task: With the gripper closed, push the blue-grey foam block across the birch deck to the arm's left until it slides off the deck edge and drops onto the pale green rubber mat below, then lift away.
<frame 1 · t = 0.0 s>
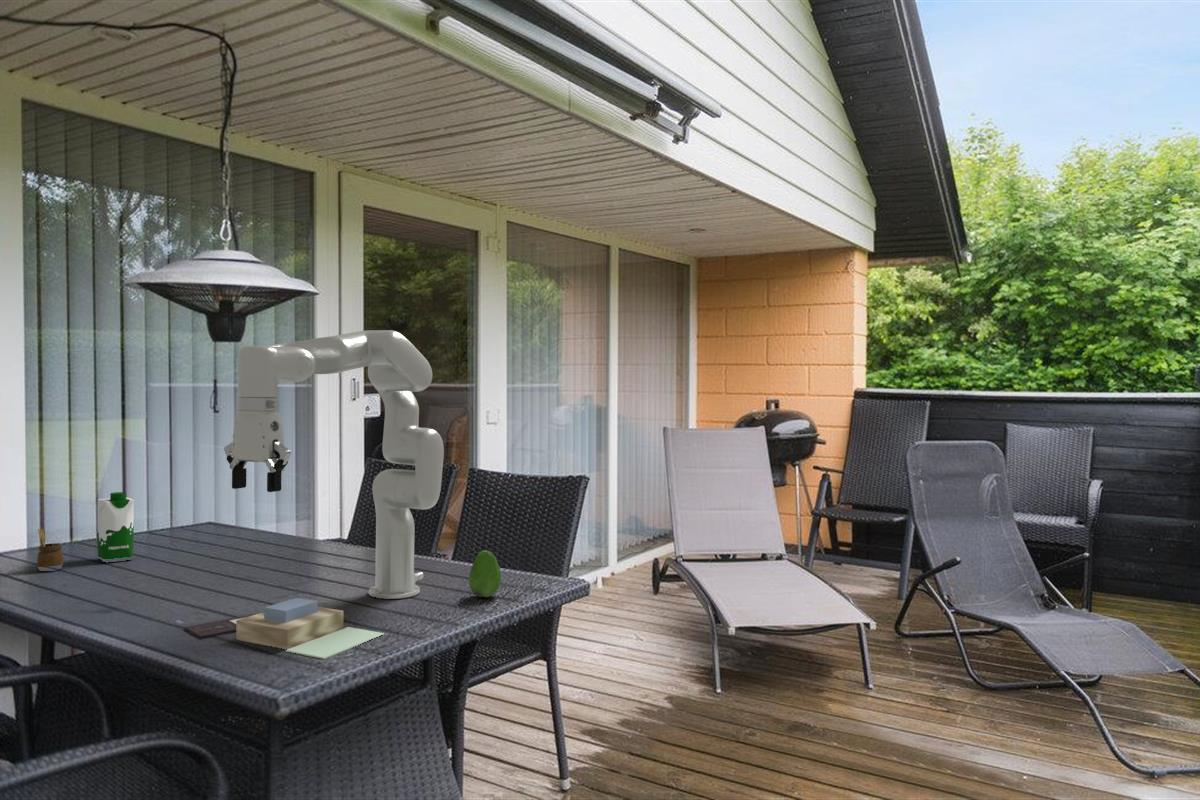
hand: (256, 489, 171), 31 cm above the table, tool pointing down, fingers open, 9 cm apart
mat: (337, 642, 171), on the table
utensil holder: (49, 571, 230), on the table
avocado: (484, 597, 210), on the table
milk carton: (115, 561, 244), on the table
deck: (291, 634, 176), on the table
chocolate bar: (235, 628, 182), on the table
blue-grey foam block: (291, 615, 176), point 4 cm above the table, touching deck
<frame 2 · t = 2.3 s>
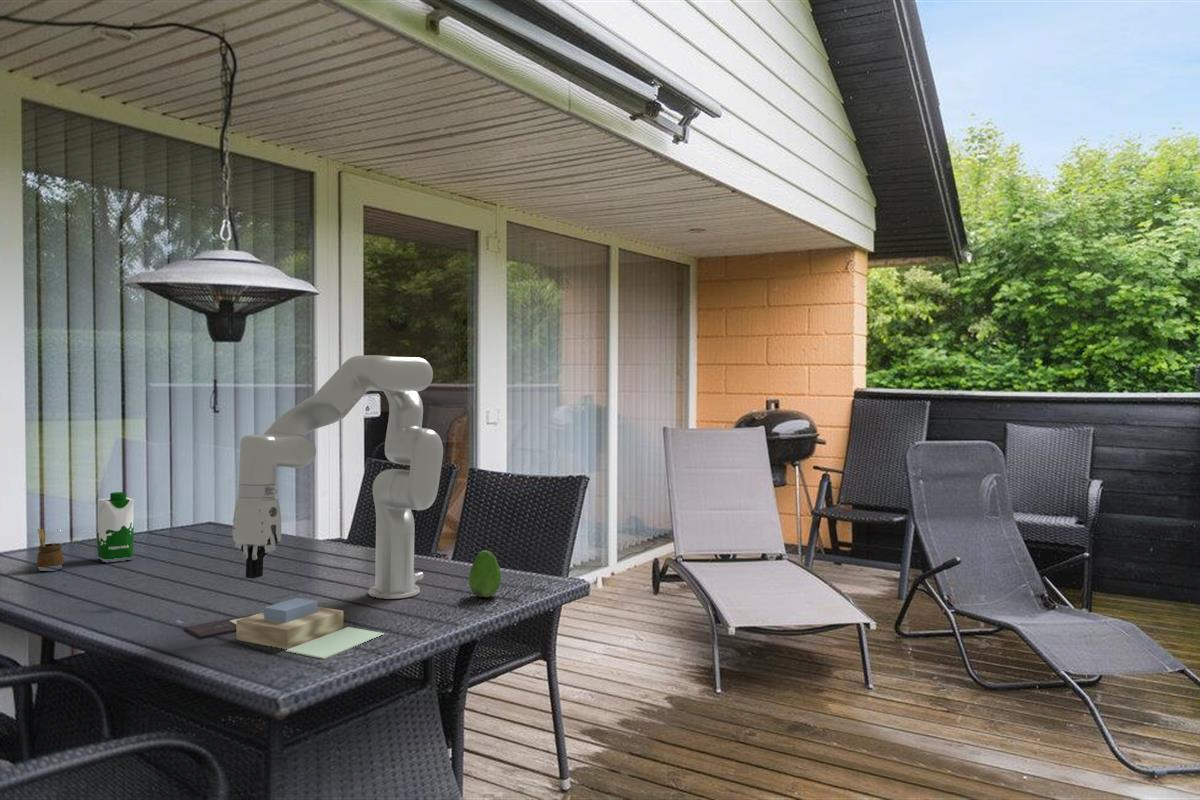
hand: (254, 576, 180), 11 cm above the table, tool pointing down, fingers closed
nothing on the table moved.
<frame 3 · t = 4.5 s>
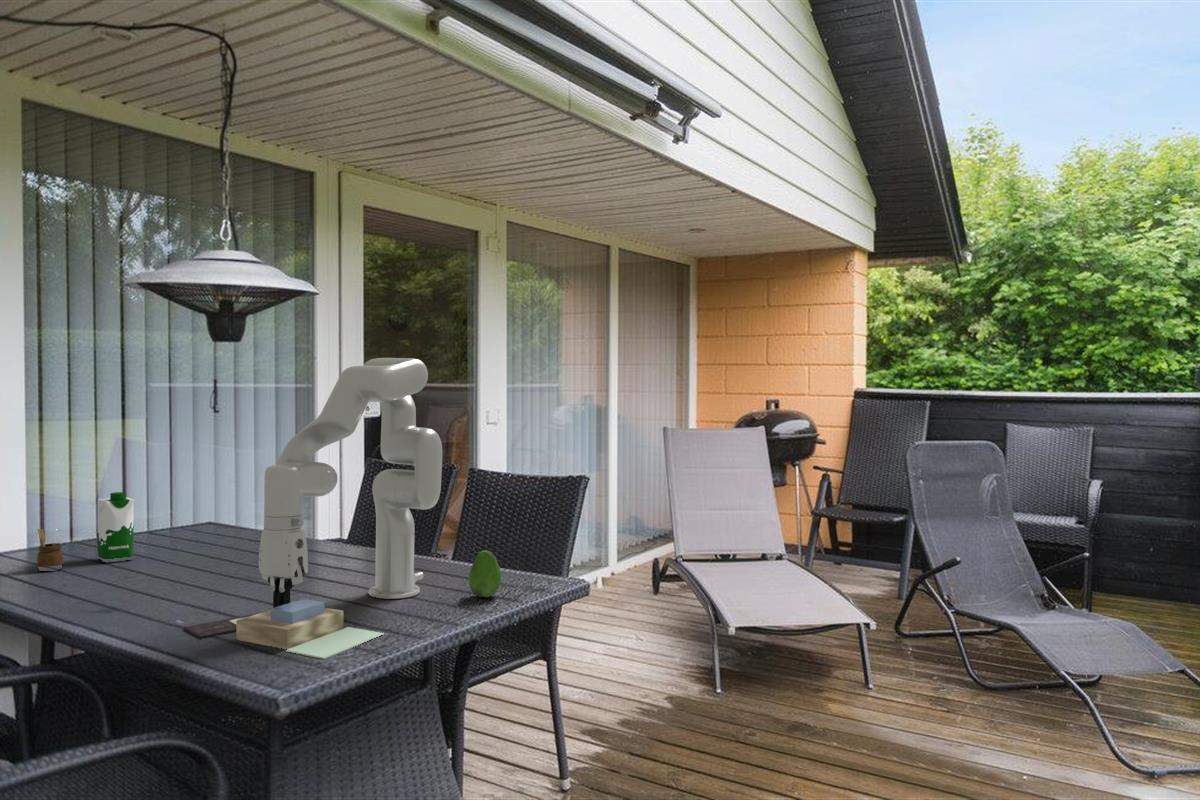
hand: (281, 609, 177), 5 cm above the table, tool pointing down, fingers closed
blue-grey foam block: (298, 616, 175), point 4 cm above the table, touching deck, gripper
everything else where it was.
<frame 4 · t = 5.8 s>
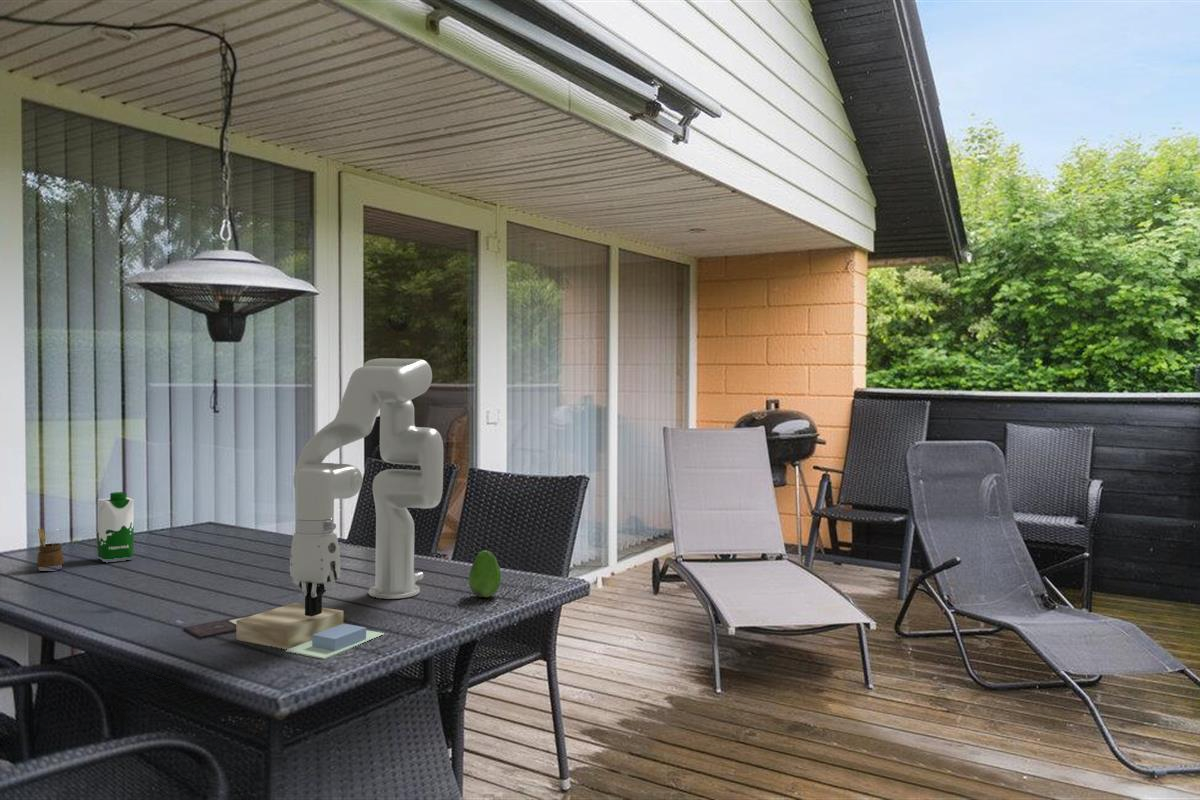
hand: (313, 614, 174), 5 cm above the table, tool pointing down, fingers closed
blue-grey foam block: (339, 631, 170), point 3 cm above the table, tilted 180°, touching mat
everything else where it was.
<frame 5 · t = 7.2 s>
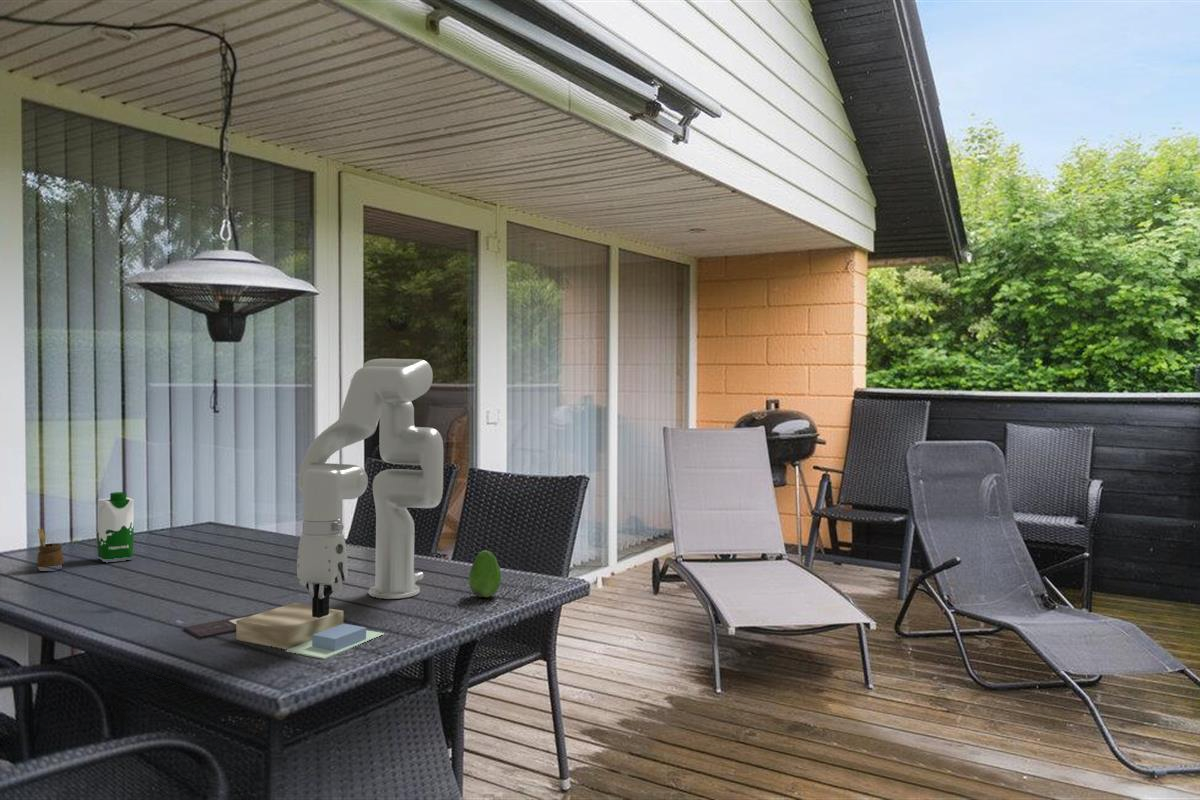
hand: (320, 615, 173), 5 cm above the table, tool pointing down, fingers closed
nothing on the table moved.
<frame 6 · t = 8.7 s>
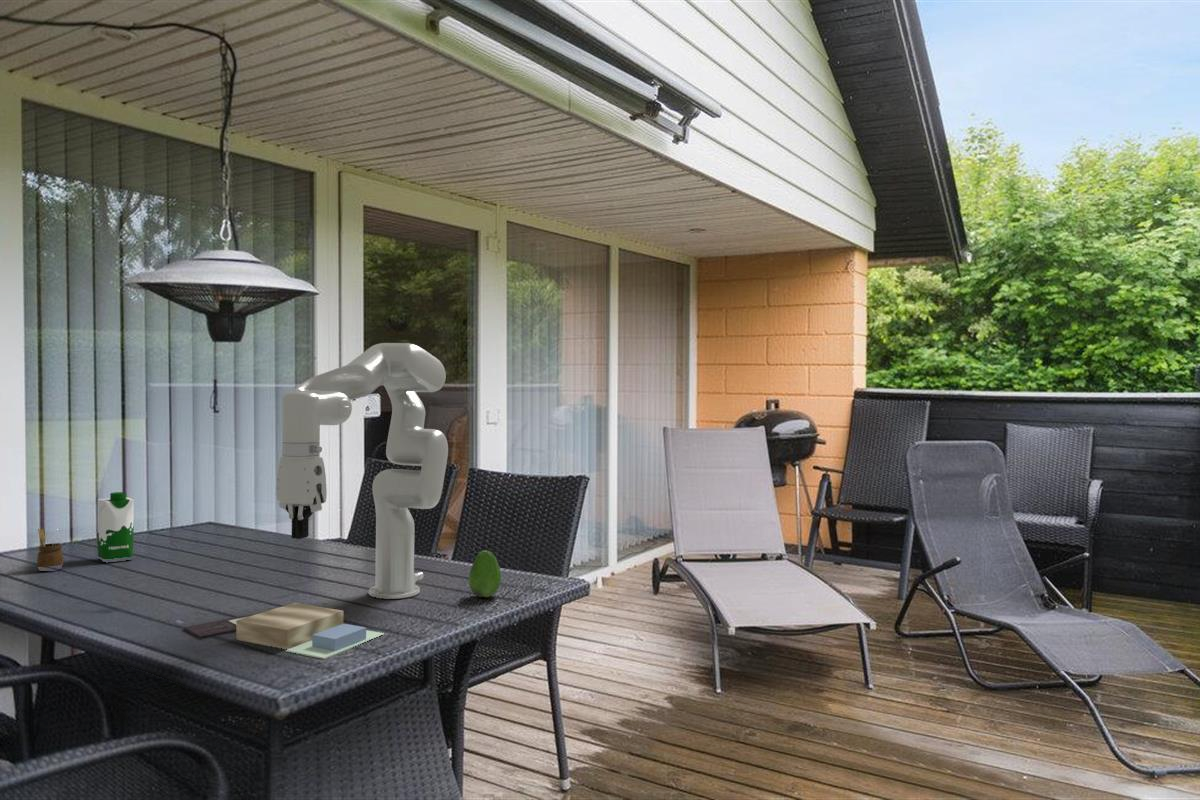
hand: (300, 537, 175), 21 cm above the table, tool pointing down, fingers closed
nothing on the table moved.
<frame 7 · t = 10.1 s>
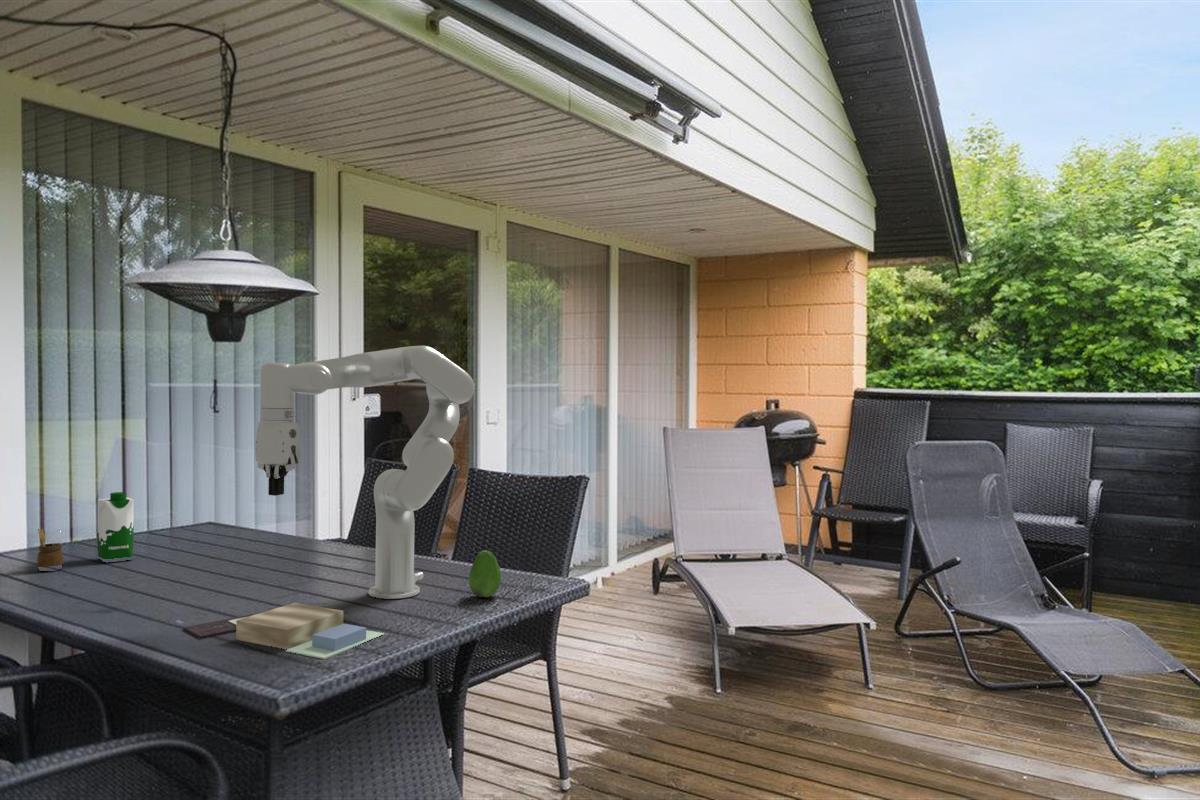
hand: (276, 494, 194), 27 cm above the table, tool pointing down, fingers closed
nothing on the table moved.
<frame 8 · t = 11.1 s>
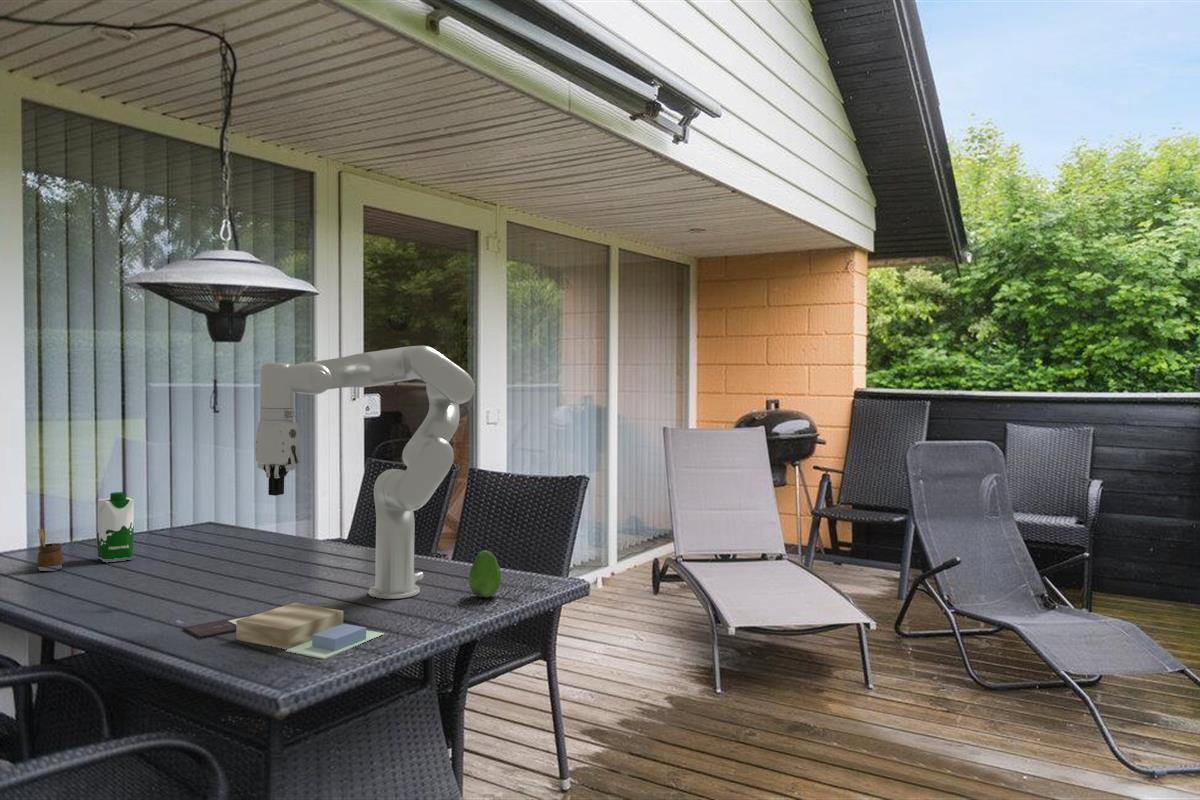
hand: (276, 494, 194), 27 cm above the table, tool pointing down, fingers closed
nothing on the table moved.
at the end: blue-grey foam block point 2.7 cm above the table; blue-grey foam block inside the target area on the mat (1.2 cm from its centre), point 2.7 cm above the mat's base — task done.
